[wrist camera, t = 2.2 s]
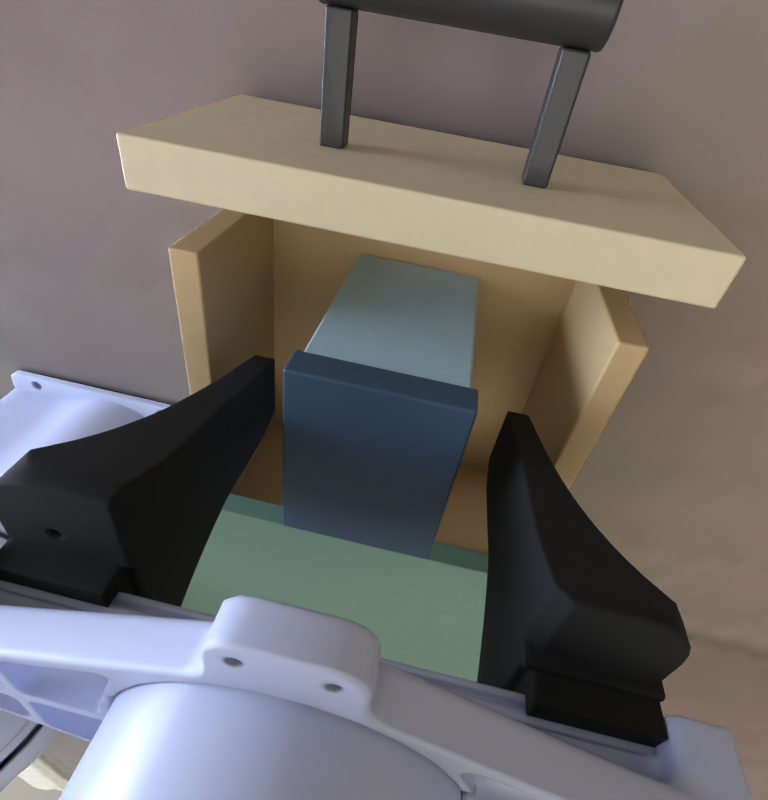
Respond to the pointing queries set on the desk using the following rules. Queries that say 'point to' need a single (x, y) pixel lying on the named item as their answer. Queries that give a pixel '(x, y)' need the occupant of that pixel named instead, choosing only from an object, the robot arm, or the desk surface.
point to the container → (381, 407)
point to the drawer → (429, 239)
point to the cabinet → (349, 585)
